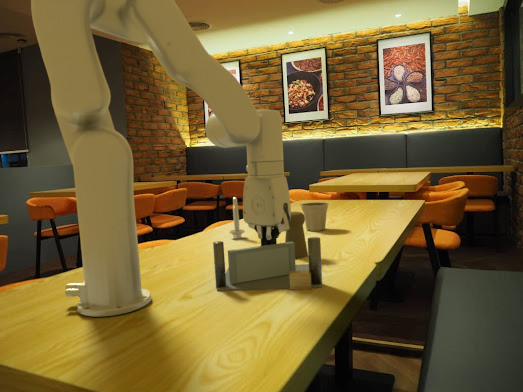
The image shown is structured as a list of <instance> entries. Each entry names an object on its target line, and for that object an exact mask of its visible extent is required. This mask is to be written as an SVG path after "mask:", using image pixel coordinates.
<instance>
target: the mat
mask: <svg viewBox="0 0 523 392" xmlns="http://www.w3.org/2000/svg"><path fill="white" fill-rule="evenodd" d="M295 265H296V271H305V270H309V263H307V264H295ZM225 274H226V286H225V287H222V288H216V291H217V292H218V291H219V292H220V291H222V292H224V291H225V292H227V291H253V290H255V291H256V290H257V291H258V290H279V289H280V290H281V289H282V290H283V289H290V278H289V274H288V275H282V276H276V277H270V278H264V279H258V280H252V281H246V282H241V283H237V284H231V283H230V279H229V267H228V268H227V270H226V271H225ZM322 287H323V283H322V284H318V285H313V284H311V288H312V289H313V288H317V289H318V288H322Z"/></svg>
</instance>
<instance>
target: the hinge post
mask: <svg viewBox="0 0 523 392" xmlns="http://www.w3.org/2000/svg"><path fill="white" fill-rule="evenodd" d="M224 246H225V244H224V241H220V240H219V241H214V242H213V243H212V247H213V260H214V262H213V263H214V274H215V277H214V279H215V288H216V289H217V288H222V287H225V286H226V274H225V273H226V265H225V264H226V262H225V248H224Z"/></svg>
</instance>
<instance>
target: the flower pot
mask: <svg viewBox="0 0 523 392" xmlns="http://www.w3.org/2000/svg"><path fill="white" fill-rule="evenodd" d="M329 205H330V203H329V202H324V201H323V202H318V201H316V202H315V201H313V202H304V203H301V204H300V207H301V211H302V213H303V215H304V217H305V221H304V224H305V229H306V231H311V232H320V231H322V230H323V231H324V230H326V224H327V223H326V222H327V211H328V208H329Z"/></svg>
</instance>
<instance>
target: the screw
mask: <svg viewBox="0 0 523 392" xmlns="http://www.w3.org/2000/svg"><path fill="white" fill-rule="evenodd" d="M232 203H233V204H232V213H233V214H232V216H233V228H234V229H232V230H231V229H230V230H229V234H230V235H232V236H233V239H234V240H238V239H239V240H240V239H242V235H243V234H244V233H245V230H244V229H242V228H241V229H240V215H239V205H238V198H237V197H236V196H234V197H233V198H232Z"/></svg>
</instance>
